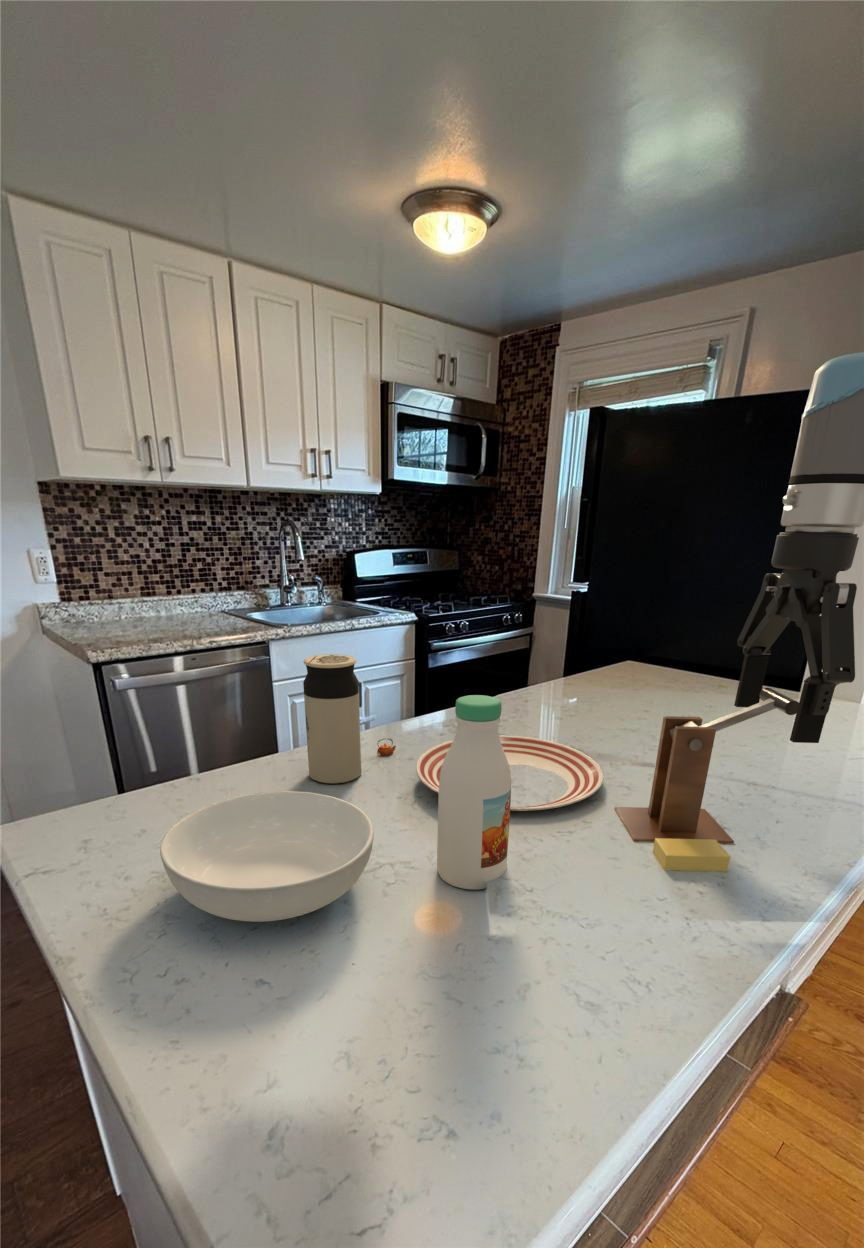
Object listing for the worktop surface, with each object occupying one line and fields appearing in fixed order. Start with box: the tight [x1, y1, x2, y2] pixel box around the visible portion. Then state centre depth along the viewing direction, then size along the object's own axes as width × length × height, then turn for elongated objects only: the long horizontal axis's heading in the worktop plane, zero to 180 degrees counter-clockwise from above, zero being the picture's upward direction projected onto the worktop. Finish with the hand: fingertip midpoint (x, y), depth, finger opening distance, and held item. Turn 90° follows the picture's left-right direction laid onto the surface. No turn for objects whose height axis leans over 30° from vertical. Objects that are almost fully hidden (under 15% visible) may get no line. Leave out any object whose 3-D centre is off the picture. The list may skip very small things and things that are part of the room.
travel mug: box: [302, 653, 362, 785], centre depth 91 cm, size 8×8×18 cm
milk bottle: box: [436, 694, 512, 890], centre depth 64 cm, size 8×8×20 cm
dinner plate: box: [415, 734, 604, 812], centre depth 91 cm, size 28×27×3 cm
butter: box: [652, 838, 731, 872], centre depth 69 cm, size 7×4×3 cm, turn 89°
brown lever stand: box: [613, 715, 735, 844], centre depth 75 cm, size 12×9×15 cm
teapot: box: [376, 738, 397, 757], centre depth 103 cm, size 3×3×3 cm
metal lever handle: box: [670, 687, 799, 740], centre depth 72 cm, size 13×6×2 cm, turn 89°
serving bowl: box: [159, 790, 375, 923], centre depth 63 cm, size 21×21×7 cm
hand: (772, 722), depth 72 cm, fingers open, 13 cm apart
